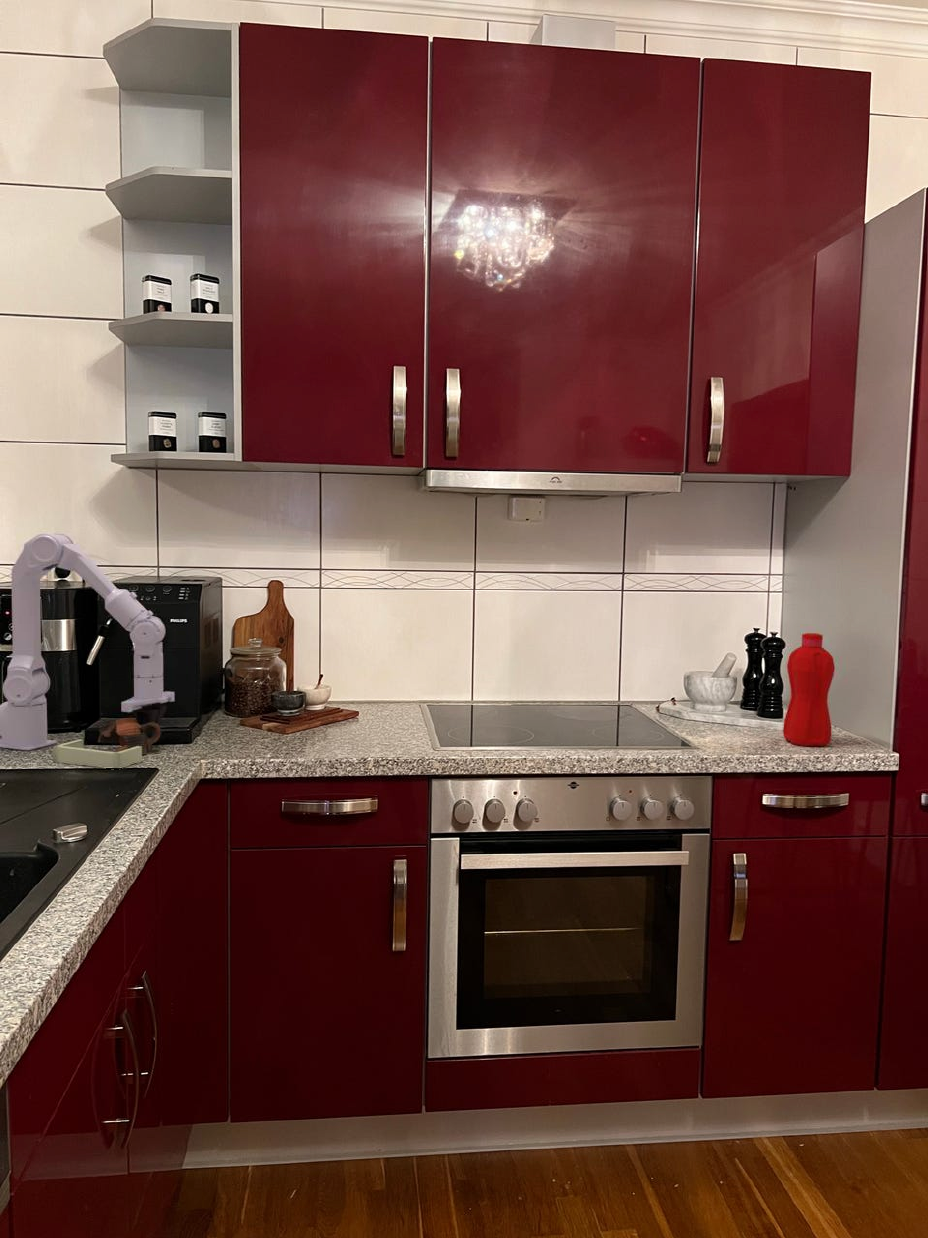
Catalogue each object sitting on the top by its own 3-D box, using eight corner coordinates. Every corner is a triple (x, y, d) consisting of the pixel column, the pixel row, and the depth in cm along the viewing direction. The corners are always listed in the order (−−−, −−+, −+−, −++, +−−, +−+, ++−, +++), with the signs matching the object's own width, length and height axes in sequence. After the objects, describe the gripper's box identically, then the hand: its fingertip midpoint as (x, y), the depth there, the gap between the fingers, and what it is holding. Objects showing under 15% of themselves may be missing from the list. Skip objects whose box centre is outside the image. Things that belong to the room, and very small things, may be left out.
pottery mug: (104, 764, 181) (92, 724, 183) (108, 774, 189) (96, 736, 191) (167, 744, 186) (154, 706, 188) (167, 755, 194) (155, 718, 196)
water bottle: (813, 737, 219) (819, 630, 216) (835, 747, 208) (842, 635, 205) (775, 736, 218) (780, 630, 216) (795, 747, 207) (801, 635, 205)
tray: (53, 761, 180) (53, 746, 179) (79, 754, 186) (79, 739, 186) (117, 770, 175) (117, 754, 174) (141, 761, 181) (141, 746, 181)
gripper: (141, 682, 185) (142, 749, 186) (186, 672, 199) (186, 735, 200) (112, 679, 188) (113, 746, 189) (158, 670, 201) (159, 732, 202)
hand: (149, 740), depth 195 cm, fingers closed
